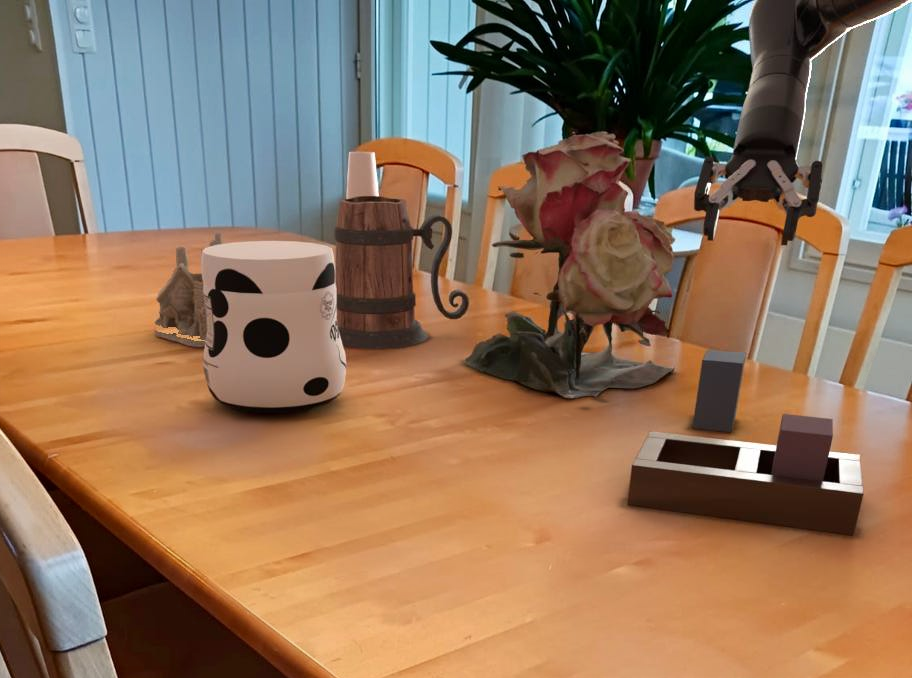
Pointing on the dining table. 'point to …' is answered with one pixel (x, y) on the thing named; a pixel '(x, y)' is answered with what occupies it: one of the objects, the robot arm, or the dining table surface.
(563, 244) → the rose bouquet
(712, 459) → the frame
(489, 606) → the dining table surface
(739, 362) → the blue-gray rectangular block
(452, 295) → the tankard
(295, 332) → the milk container
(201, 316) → the ceramic cottage
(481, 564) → the dining table surface
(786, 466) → the seated pad
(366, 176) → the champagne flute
